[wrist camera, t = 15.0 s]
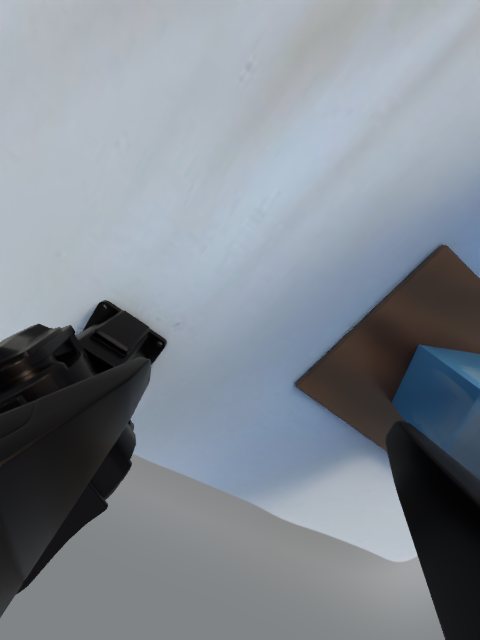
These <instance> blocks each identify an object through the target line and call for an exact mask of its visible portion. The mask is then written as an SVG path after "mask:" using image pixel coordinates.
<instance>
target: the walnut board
mask: <svg viewBox="0 0 480 640" xmlns="http://www.w3.org/2000/svg"><path fill="white" fill-rule="evenodd" d="M419 345H425V346H432V347H438V348H445V349H451V350H457V351H464V352H470V353H476V354H480V279H479V278H478V277H477V276H476V275H475V274H474V273H473V272H472V271H471V269H470V268H469V267H468V266H467V265H466V264H465V263H464V262H463V261H462V260H461V259H460V258H459V257H458V256H457V255H456V254H455V253H454V252H453V251H452V250H451V249H450V248H449V247H448V246H447V245H441V246H440V247H439V248H437V249H436V250H435V251H434V252H433V253H432V254H431V255H430V256H429V257H428V258H427V259H426V260H425V261H424V262H423V263H422V264H421V265H420V266H418V267H417V268H416V269H415V270H414V271H413V272H412V273H411V274H410V275H409V276H408V277H407V278H406V279H405V280H404V281H403V282H402V283H401V284H399V285H398V286H397V287H396V288H395V289H394V290H393V291H392V292H391V293H390V294H389V295H388V296H387V297H386V298H385V299H384V300H383V301H382V302H380V303H379V304H378V305H377V306H376V307H375V308H374V309H373V310H372V311H371V312H370V313H369V314H368V315H367V316H366V317H365V318H364V319H363V320H361V321H360V322H359V323H358V324H357V325H356V326H355V327H354V328H353V329H352V330H351V331H350V332H349V333H348V334H347V335H346V336H345V337H344V338H343V339H341V340H340V341H339V342H338V343H337V344H336V345H335V346H334V347H333V348H332V349H331V350H330V351H329V352H328V353H327V354H326V355H325V356H324V357H322V358H321V359H320V360H319V361H318V362H317V363H316V364H315V365H314V366H313V367H312V368H311V369H310V370H309V371H308V372H307V373H306V374H305V375H303V376H302V377H301V378H300V379H299V380H298V381H297V382H296V383H295V384H296V387H297V388H299V389H300V390H301V391H303V392H304V393H306V394H307V395H308V396H310V397H311V398H313V399H314V400H316V401H317V402H318V403H320V404H321V405H323V406H324V407H325V408H327V409H328V410H330V411H331V412H332V413H334V414H335V415H337V416H338V417H339V418H341V419H342V420H344V421H345V422H346V423H348V424H349V425H351V426H352V427H353V428H355V429H356V430H358V431H359V432H360V433H362V434H363V435H365V436H366V437H367V438H369V439H370V440H372V441H373V442H375V443H376V444H377V445H379V446H380V447H382V448H383V449H384V450H386V451H387V448H386V444H385V438H386V435H387V433H388V432H389V430H390V429H391V427H392V426H393V424H394V423H395V422H396V421H404V422H406V421H405V420H404V419H403V417H402V416H401V415H400V414H399V412H398V411H397V410H396V408H395V407H394V406H393V404H392V401H393V399H394V397H395V394H396V392H397V390H398V388H399V386H400V384H401V382H402V380H403V377H404V375H405V373H406V371H407V369H408V367H409V365H410V363H411V360H412V358H413V356H414V354H415V352H416V350H417V348H418V346H419Z"/></svg>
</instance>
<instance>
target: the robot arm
mask: <svg viewBox="0 0 480 640" xmlns="http://www.w3.org/2000/svg"><path fill="white" fill-rule="evenodd" d="M104 305H106V306H107V309H106V308H105V307H104ZM74 333H75V331H74V329H73V328H72V326H71V325H69V326H66V327H63V328H60V327H58V328H54V329H52V328H48V327H45V326H43V325H41V324H37V325H34V326H31V327H29V328H27V329H25V330H23V331H20V332H18V333H16V334H14V335H12V336H10V337H8V338H6V339H5V340H3V341H1V342H0V617H1V616H2V614H3V613H4V611H5V610H6V608H7V607H8V605H9V604H10V602H11V601H12V599H13V598H14V596H15V595H16V594H18V593H19V592H21V591H22V590H23V589H25V588H26V587H27V586H28V585H29V584H30V583H31V582H32V581H33V579H35V577H36V576H37V575H38V574H39V573H40V571H41V570H42V569H43V568H44V567H45V566H46V564H47V563H48V562H49V561H50V560H51V559H52V558H53V556H54V555H55V554H56V553H57V552H58V551H59V550H60V549H61V548H62V547H63V545H64V544H65V543H66V542H67V541H68V540H69V539H70V538H71V537H72V536H73V535H75V534H76V533H77V532H78V531H79V530H80V529H81V528H82V527H83V526H84V525H85V524H87V523H88V522H90V521H91V520H92V519H94V518H95V517H97V516H98V515H100V514H101V513H102V512H104V511H105V510H106V509H107V507H108V503H107V502H106V501H105V500H106V499H107V498H108V497H109V496H110V495H111V494H112V493H113V492H114V491H115V489H116V488H117V487H118V485H119V484H120V482H121V481H122V480H123V479H124V477H125V476H126V474H127V473H128V471H129V470H130V468H131V465H132V462H131V460H130V458H131V456H132V454H133V451H134V448H135V445H136V437H135V434H134V432H133V429H134V425H133V423H132V422H131V420H130V419H131V417H132V415H133V413H134V411H135V409H136V407H137V405H138V403H139V401H140V399H141V397H142V395H143V394H144V392H145V390H146V388H147V386H148V384H149V381H150V373H151V365H152V363H153V362H154V361H155V359H156V358H157V357H158V355H159V354H160V353H161V351H162V350H163V349H164V347H165V346H166V344H167V341H166V340H165V339H164V338H163V337H161V336H160V335H158V334H157V333H155V332H154V331H152V330H151V329H149V327H148V326H147V325H145V324H144V323H142V322H141V321H139V320H138V319H136V318H135V317H133V316H132V315H130V314H129V313H127V312H126V311H123V310H121V309H120V308H118V307H117V306H115V305H114V304H112V303H111V302H109V301H107V300H104V301H102V302H100V303H99V304H98V306H97V307H96V309H95V311H94V313H93V314H92V316H91V318H90V319H89V321H88V323H87V325H86V326H85V328H84V330H83V331H82V332H81V333H80V334H78V335H77V336H75V334H74ZM159 342H162V344H163V345H160V344H159ZM385 444H386V448H387V453H388V457H389V461H390V466H391V470H392V475H393V479H394V483H395V487H396V490H397V494H398V497H399V500H400V503H401V506H402V509H403V512H404V515H405V518H406V521H407V524H408V527H409V530H410V533H411V536H412V539H413V542H414V546H415V549H416V552H417V555H418V557H419V561H420V564H421V567H422V570H423V573H424V576H425V579H426V582H427V585H428V588H429V591H430V594H431V597H432V600H433V603H434V606H435V609H436V613H437V615H438V618H439V622H440V624H441V628H442V631H443V634H444V637H445V640H480V479H478V478H477V477H476V476H475V475H474V474H472V473H471V472H470V471H469V470H467V469H466V468H465V467H464V466H462V465H461V464H460V463H459V462H457V461H456V460H455V459H454V458H453V457H451V456H450V455H449V454H448V453H446V452H445V451H444V450H443V449H441V448H440V447H439V446H438V445H437V444H435V443H434V442H433V441H432V440H430V439H429V438H428V437H427V436H425V435H424V434H423V433H422V432H421V431H419V430H418V429H417V428H416V427H414V426H413V425H412V424H410V423H408V422H404V421H396V422H395V423H394V424H393V426H392V427H391V429H390V430H389V432H388V433H387V435H386V438H385Z"/></svg>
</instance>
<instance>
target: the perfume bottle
mask: <svg viewBox="0 0 480 640" xmlns="http://www.w3.org/2000/svg"><path fill="white" fill-rule="evenodd" d="M392 404H393V406H394V407H395V408H396V410H397V411H398V412H399V414H400V415H401V416H402V417H403V419H404V420H405V421H406V422H408V423H410V424H412V425H413V426H414V427H416V428H417V429H418V430H419V431H421V432H422V433H423V434H424V435H425V436H427V437H428V438H429V439H430V440H432V441H433V442H434V443H435V444H437V445H438V446H439V447H440V448H441V449H443V450H444V451H445V452H446V453H448V454H449V455H450V456H451V457H453V458H454V459H455V460H456V461H457V462H459V463H460V464H461V465H462V466H464V467H465V468H466V469H467V470H469V471H470V472H471V473H472V474H474V475H475V476H476V477H477V478H478V479H480V354H476V353H470V352H464V351H457V350H451V349H445V348H438V347H432V346H425V345H419V346H418V348H417V350H416V352H415V354H414V356H413V358H412V360H411V363H410V365H409V367H408V369H407V371H406V373H405V375H404V377H403V380H402V382H401V384H400V386H399V388H398V390H397V392H396V394H395V397H394V399H393V401H392Z"/></svg>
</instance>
